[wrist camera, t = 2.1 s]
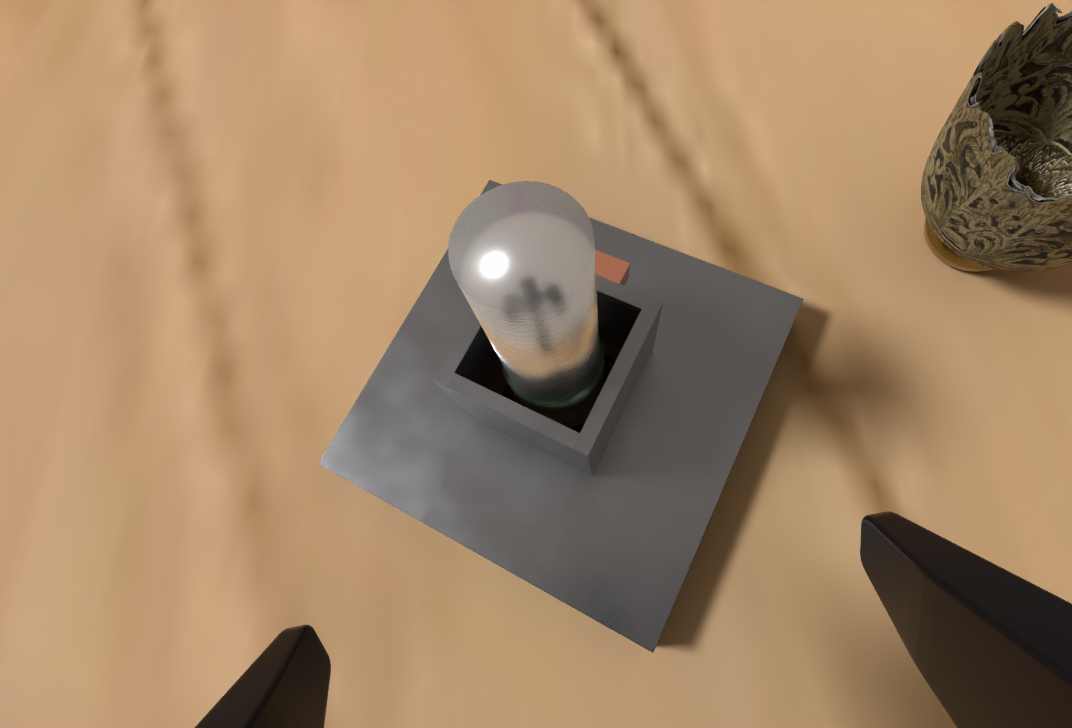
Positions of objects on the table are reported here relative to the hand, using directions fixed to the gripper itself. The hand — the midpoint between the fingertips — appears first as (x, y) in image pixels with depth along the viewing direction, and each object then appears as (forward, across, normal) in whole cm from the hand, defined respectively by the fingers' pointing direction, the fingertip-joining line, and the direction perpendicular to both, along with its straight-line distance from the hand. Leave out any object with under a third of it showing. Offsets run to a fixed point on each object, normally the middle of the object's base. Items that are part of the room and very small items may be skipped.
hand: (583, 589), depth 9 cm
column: (+14, 0, +4) cm, 15 cm away
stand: (+14, 0, +4) cm, 15 cm away
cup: (+16, -18, +2) cm, 24 cm away
